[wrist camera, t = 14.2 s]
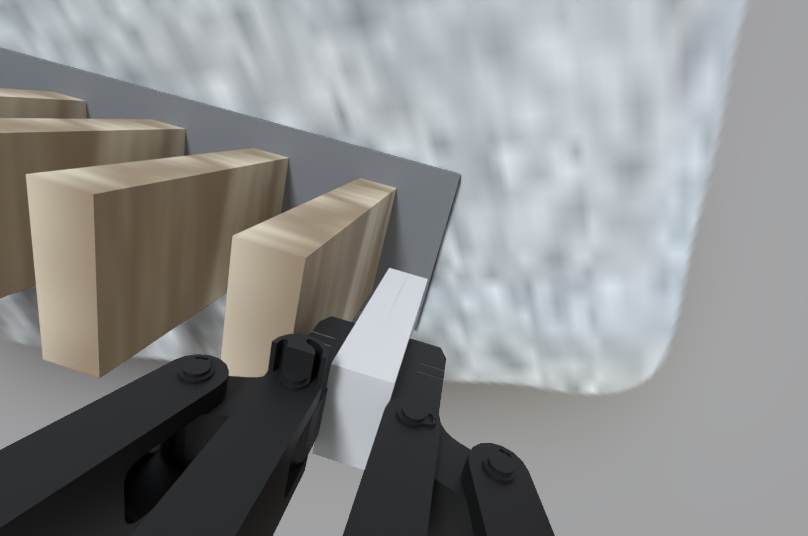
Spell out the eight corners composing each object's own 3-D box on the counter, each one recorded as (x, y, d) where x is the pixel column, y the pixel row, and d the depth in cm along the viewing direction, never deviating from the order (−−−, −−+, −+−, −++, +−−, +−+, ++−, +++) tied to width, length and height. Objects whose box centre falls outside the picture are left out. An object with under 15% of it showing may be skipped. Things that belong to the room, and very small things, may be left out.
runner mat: (-43, 183, 27) (-51, 184, 26) (-67, 29, 24) (-76, 27, 23) (416, 324, 24) (416, 327, 24) (460, 174, 21) (460, 175, 21)
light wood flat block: (243, 250, 24) (42, 359, 13) (254, 147, 22) (25, 173, 11) (274, 260, 24) (99, 378, 13) (288, 157, 22) (92, 194, 11)
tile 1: (339, 279, 24) (215, 417, 13) (360, 177, 22) (232, 235, 11) (372, 289, 24) (275, 437, 13) (396, 188, 22) (305, 257, 10)
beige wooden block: (150, 222, 25) (-120, 305, 14) (151, 119, 23) (-167, 116, 12) (180, 232, 25) (-67, 322, 14) (185, 128, 22) (-105, 135, 11)
